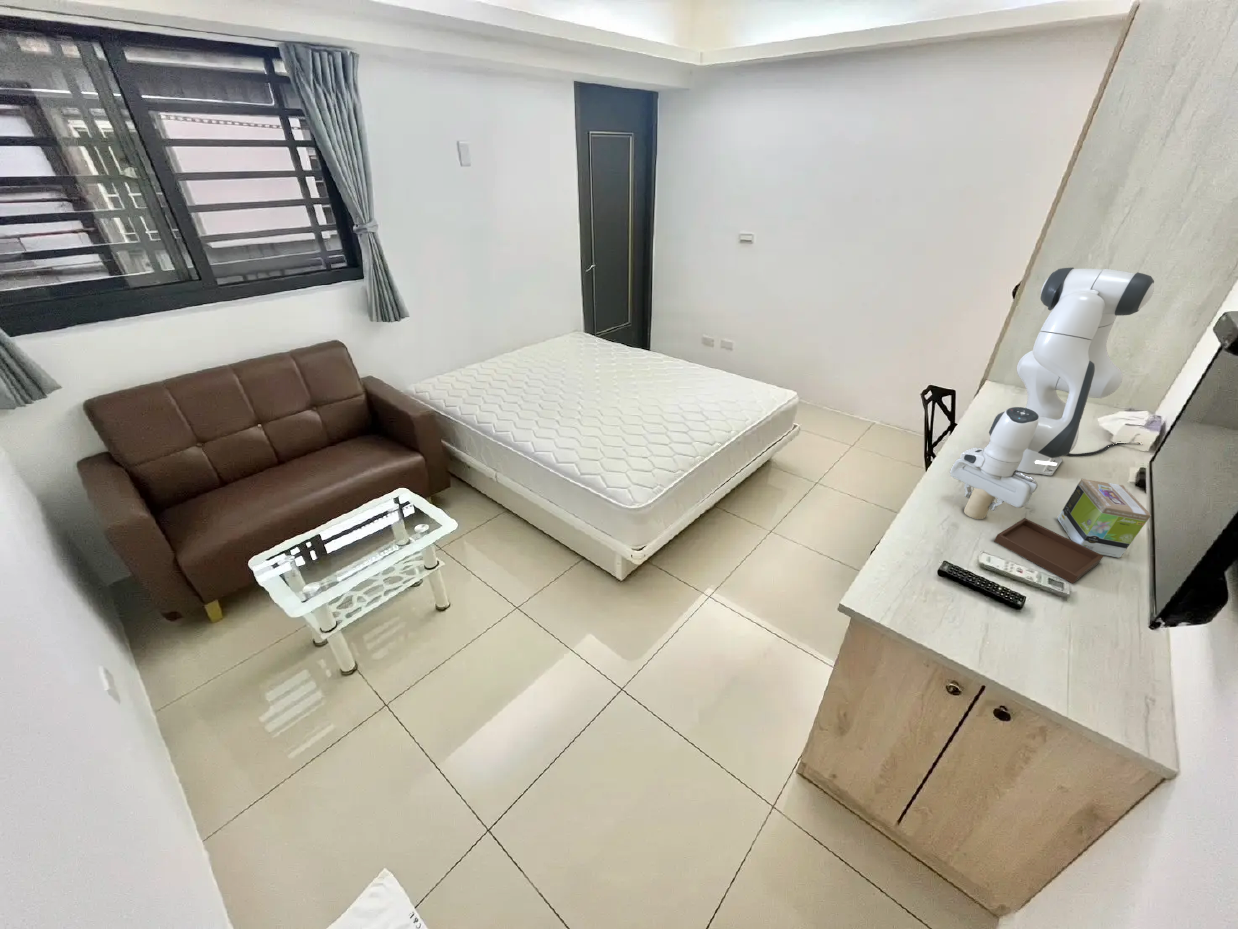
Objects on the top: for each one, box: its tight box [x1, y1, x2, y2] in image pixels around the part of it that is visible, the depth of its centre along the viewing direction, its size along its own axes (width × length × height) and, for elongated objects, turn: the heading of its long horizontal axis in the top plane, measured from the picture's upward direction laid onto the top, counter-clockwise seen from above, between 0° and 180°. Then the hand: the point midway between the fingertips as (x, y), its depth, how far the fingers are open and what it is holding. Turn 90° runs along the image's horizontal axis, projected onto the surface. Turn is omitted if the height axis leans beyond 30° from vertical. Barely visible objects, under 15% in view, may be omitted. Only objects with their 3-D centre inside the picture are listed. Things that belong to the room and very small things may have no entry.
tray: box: [993, 517, 1104, 584], centre depth 131 cm, size 15×19×3 cm
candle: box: [963, 487, 996, 520], centre depth 143 cm, size 6×6×10 cm
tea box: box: [1057, 478, 1152, 559], centre depth 132 cm, size 15×10×15 cm
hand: (979, 502), depth 144 cm, fingers closed on candle, 5 cm apart
